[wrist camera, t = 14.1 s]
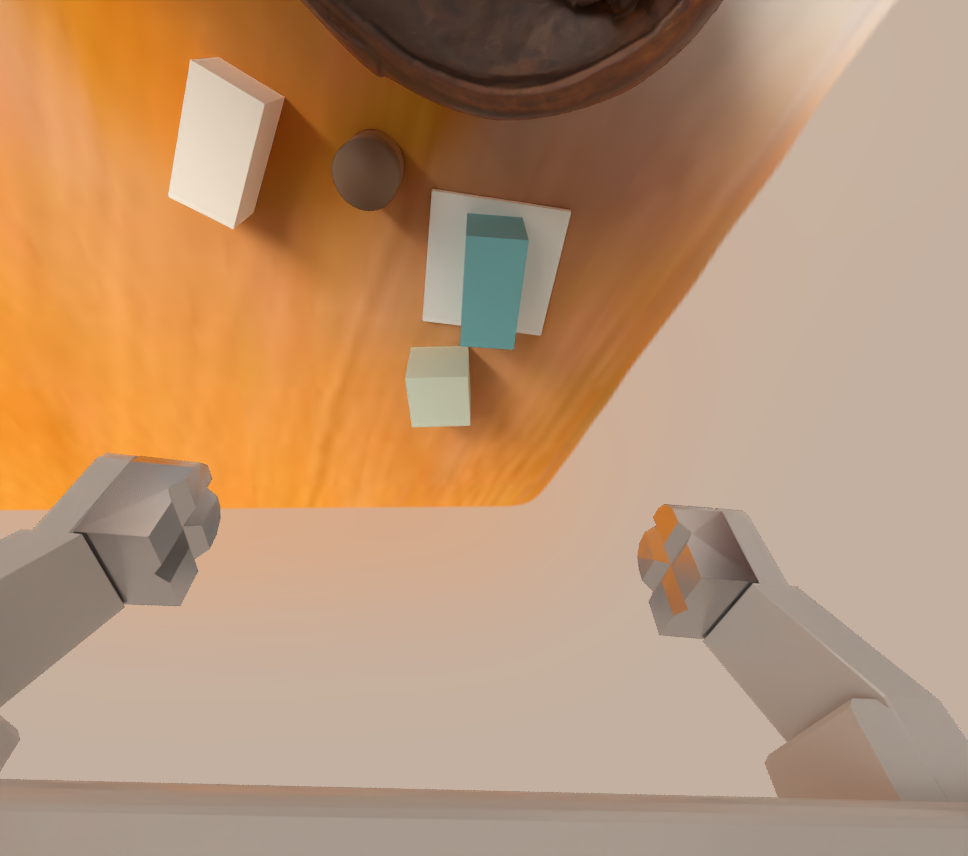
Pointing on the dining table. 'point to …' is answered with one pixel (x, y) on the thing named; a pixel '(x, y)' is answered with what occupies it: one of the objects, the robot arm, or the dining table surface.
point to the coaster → (449, 255)
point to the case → (514, 48)
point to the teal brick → (492, 280)
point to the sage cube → (439, 386)
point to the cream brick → (223, 141)
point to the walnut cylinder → (368, 170)
